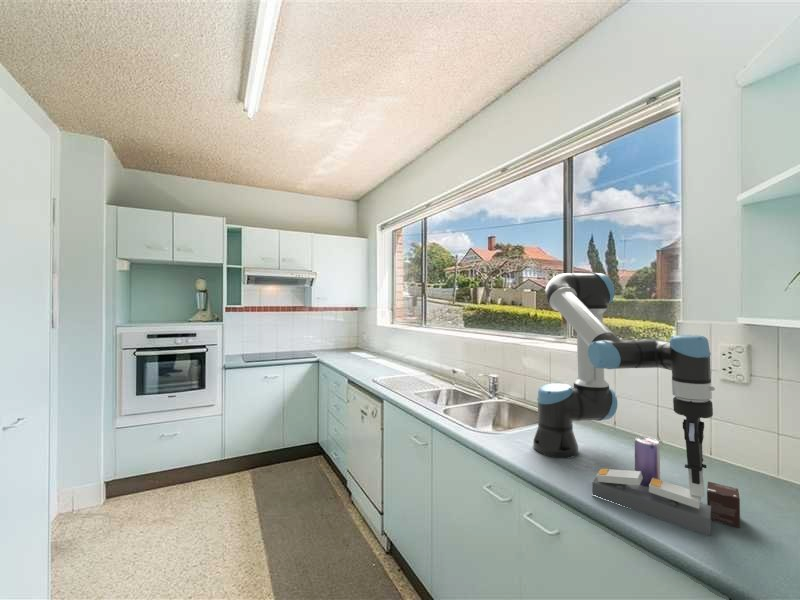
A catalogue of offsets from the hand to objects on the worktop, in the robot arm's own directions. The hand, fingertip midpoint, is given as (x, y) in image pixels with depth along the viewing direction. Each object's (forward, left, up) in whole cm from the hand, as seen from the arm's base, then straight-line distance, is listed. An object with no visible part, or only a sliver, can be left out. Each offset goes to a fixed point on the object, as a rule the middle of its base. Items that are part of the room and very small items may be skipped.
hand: (697, 494), depth 88 cm
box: (+5, +8, -8) cm, 12 cm away
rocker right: (-4, 0, -2) cm, 5 cm away
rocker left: (-16, 0, -2) cm, 16 cm away
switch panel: (-10, 0, -7) cm, 12 cm away
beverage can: (-11, +9, -8) cm, 17 cm away
